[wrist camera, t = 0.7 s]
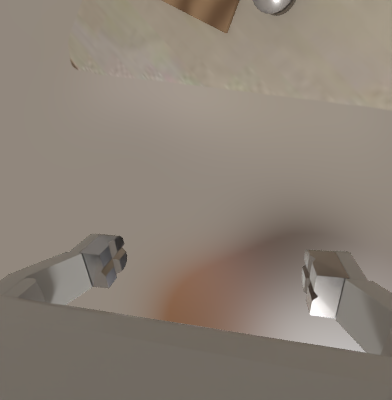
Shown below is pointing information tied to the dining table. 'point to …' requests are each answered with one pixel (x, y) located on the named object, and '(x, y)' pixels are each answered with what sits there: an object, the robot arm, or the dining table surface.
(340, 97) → the dining table surface
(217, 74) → the dining table surface
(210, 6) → the mount
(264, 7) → the canister
